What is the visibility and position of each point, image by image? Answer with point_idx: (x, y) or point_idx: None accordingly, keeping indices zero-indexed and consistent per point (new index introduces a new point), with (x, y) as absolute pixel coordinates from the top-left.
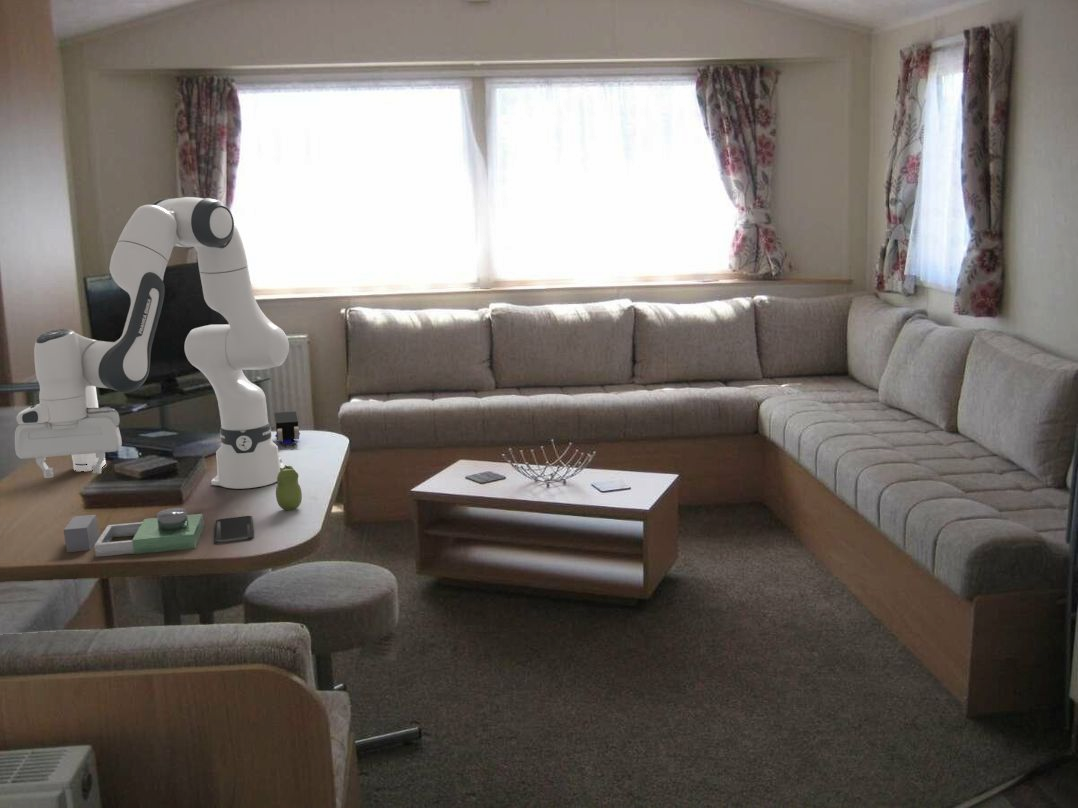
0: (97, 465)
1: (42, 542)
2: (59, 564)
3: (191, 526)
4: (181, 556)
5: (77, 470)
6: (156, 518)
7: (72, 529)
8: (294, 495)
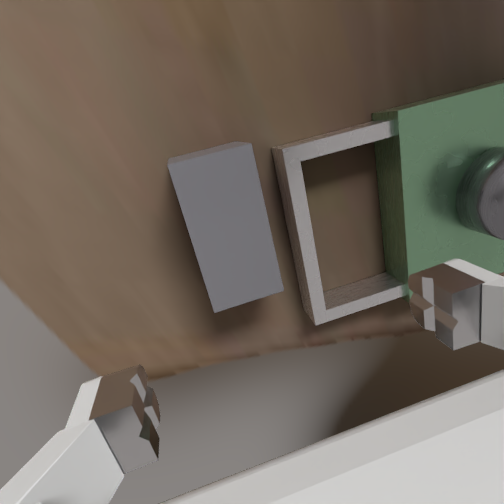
0: (496, 339)
1: (65, 199)
2: (235, 358)
3: None
4: None
5: None
6: (434, 110)
7: (240, 302)
8: None
